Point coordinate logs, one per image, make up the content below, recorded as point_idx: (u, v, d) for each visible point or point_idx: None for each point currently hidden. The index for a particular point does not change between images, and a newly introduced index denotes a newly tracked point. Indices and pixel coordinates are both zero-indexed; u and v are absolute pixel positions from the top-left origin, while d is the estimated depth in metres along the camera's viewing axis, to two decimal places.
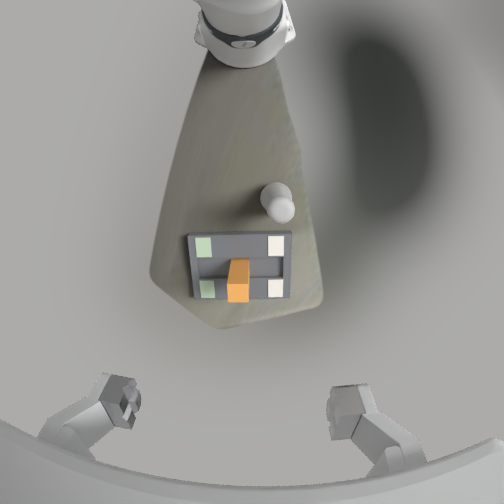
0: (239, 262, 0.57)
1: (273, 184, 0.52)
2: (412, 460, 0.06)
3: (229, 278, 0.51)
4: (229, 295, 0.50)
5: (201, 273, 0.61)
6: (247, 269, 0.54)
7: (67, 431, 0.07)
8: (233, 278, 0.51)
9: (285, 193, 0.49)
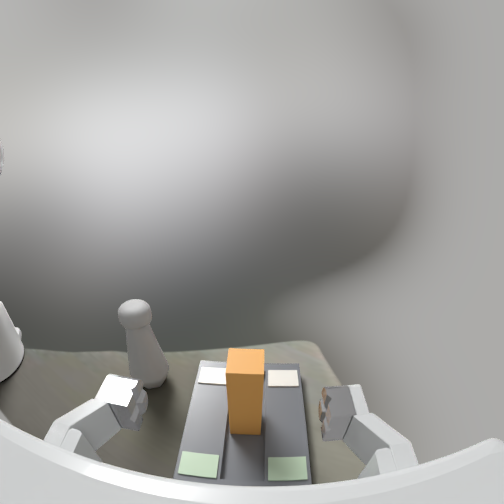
0: None
1: None
2: (403, 462, 0.06)
3: (226, 385, 0.26)
4: (249, 371, 0.26)
5: (256, 481, 0.24)
6: None
7: (74, 434, 0.07)
8: None
9: None
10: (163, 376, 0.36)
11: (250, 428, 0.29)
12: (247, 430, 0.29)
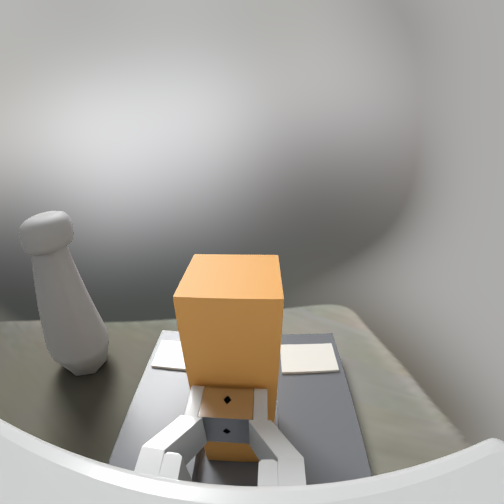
0: None
1: None
2: (288, 479, 0.07)
3: (182, 340, 0.10)
4: (241, 293, 0.09)
5: None
6: None
7: (172, 457, 0.07)
8: None
9: None
10: (95, 353, 0.19)
11: (248, 450, 0.13)
12: (242, 453, 0.13)
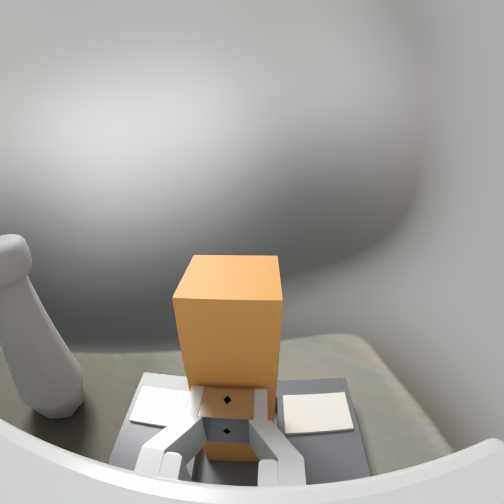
0: None
1: None
2: (288, 479, 0.07)
3: (181, 341, 0.10)
4: (240, 294, 0.09)
5: None
6: None
7: (172, 457, 0.07)
8: None
9: None
10: (67, 399, 0.15)
11: (248, 450, 0.13)
12: (241, 453, 0.13)
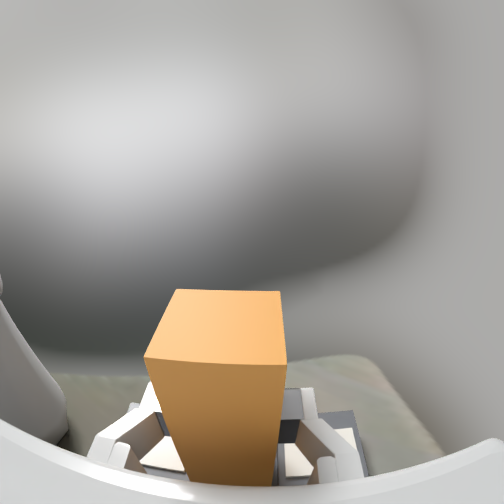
0: None
1: None
2: (347, 473, 0.06)
3: (160, 400, 0.08)
4: (231, 354, 0.07)
5: None
6: None
7: (122, 447, 0.07)
8: None
9: None
10: (50, 430, 0.12)
11: None
12: None
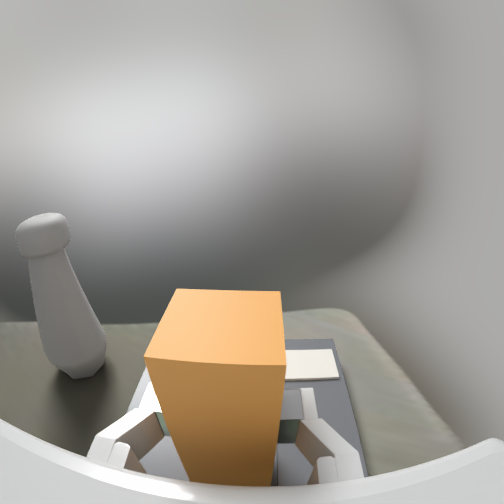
0: None
1: None
2: (347, 473, 0.06)
3: (160, 399, 0.08)
4: (230, 354, 0.07)
5: None
6: None
7: (122, 447, 0.07)
8: None
9: None
10: (92, 357, 0.19)
11: None
12: None
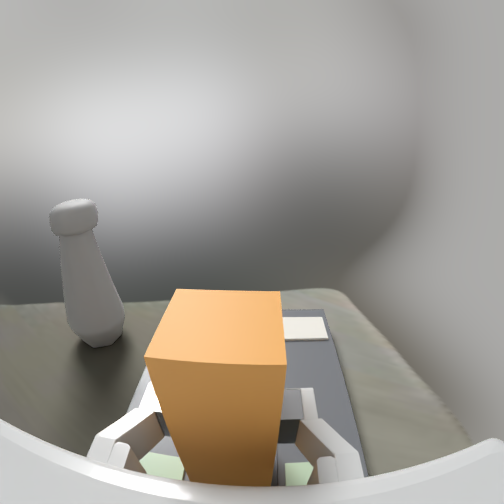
0: None
1: None
2: (347, 473, 0.06)
3: (160, 400, 0.08)
4: (231, 354, 0.07)
5: None
6: None
7: (122, 447, 0.07)
8: None
9: None
10: (113, 325, 0.23)
11: None
12: None
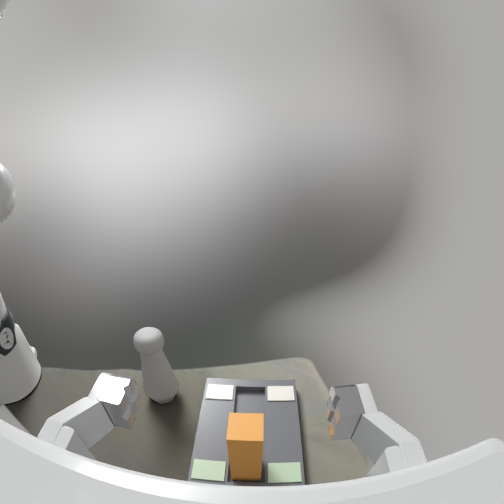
0: None
1: None
2: (412, 460, 0.06)
3: (227, 447, 0.25)
4: (249, 437, 0.24)
5: (258, 483, 0.28)
6: None
7: (67, 431, 0.07)
8: None
9: None
10: (174, 393, 0.40)
11: (251, 476, 0.27)
12: (248, 477, 0.28)
